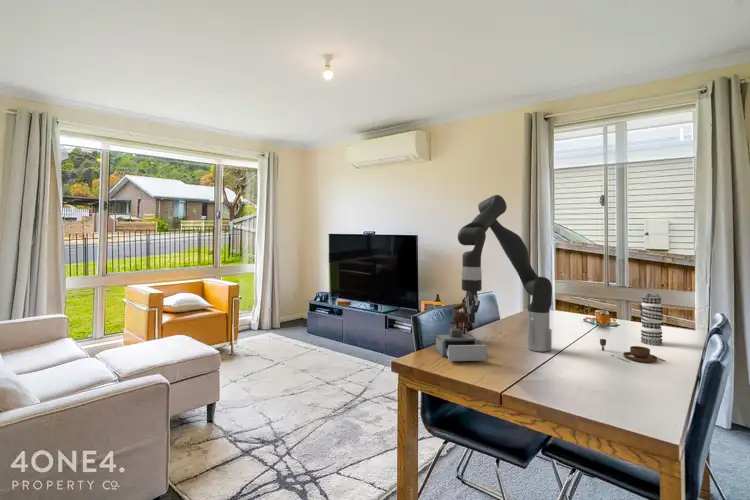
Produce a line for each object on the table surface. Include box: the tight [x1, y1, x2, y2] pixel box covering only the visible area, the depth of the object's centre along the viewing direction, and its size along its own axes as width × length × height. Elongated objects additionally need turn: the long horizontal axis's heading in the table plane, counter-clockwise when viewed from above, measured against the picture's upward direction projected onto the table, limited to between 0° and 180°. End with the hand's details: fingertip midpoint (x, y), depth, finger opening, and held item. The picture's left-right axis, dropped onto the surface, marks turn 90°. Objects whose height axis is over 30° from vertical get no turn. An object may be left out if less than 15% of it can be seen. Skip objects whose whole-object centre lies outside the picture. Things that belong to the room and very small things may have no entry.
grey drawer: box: [445, 344, 488, 362], centre depth 161 cm, size 16×13×6 cm
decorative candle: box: [639, 292, 664, 347], centre depth 186 cm, size 9×9×25 cm
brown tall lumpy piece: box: [448, 302, 471, 334], centre depth 191 cm, size 15×11×20 cm
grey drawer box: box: [435, 328, 481, 358], centre depth 171 cm, size 16×13×10 cm
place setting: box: [599, 338, 666, 364], centre depth 168 cm, size 18×20×6 cm
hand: (471, 322), depth 151 cm, fingers closed
